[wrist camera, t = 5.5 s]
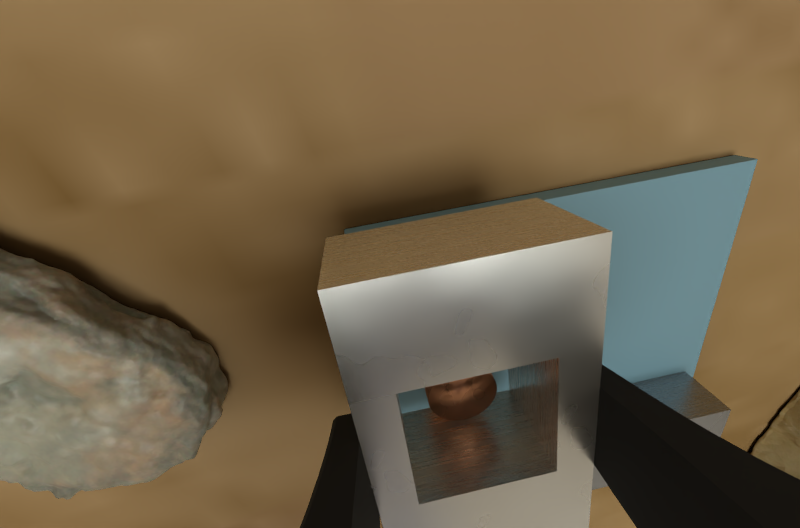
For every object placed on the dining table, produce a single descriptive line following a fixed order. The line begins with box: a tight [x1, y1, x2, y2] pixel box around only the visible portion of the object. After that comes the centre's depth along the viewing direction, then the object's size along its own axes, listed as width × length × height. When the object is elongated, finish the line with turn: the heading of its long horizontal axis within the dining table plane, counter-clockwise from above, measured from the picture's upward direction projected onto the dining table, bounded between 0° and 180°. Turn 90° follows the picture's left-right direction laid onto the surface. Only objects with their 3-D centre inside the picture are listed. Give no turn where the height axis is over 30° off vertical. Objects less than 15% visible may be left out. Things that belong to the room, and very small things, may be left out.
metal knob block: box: [592, 371, 731, 490], centre depth 16 cm, size 3×8×5 cm, turn 98°
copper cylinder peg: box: [425, 373, 497, 420], centre depth 12 cm, size 2×2×3 cm
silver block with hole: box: [317, 198, 613, 528], centre depth 10 cm, size 6×9×3 cm, turn 8°
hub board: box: [344, 155, 758, 414], centre depth 16 cm, size 16×14×1 cm
